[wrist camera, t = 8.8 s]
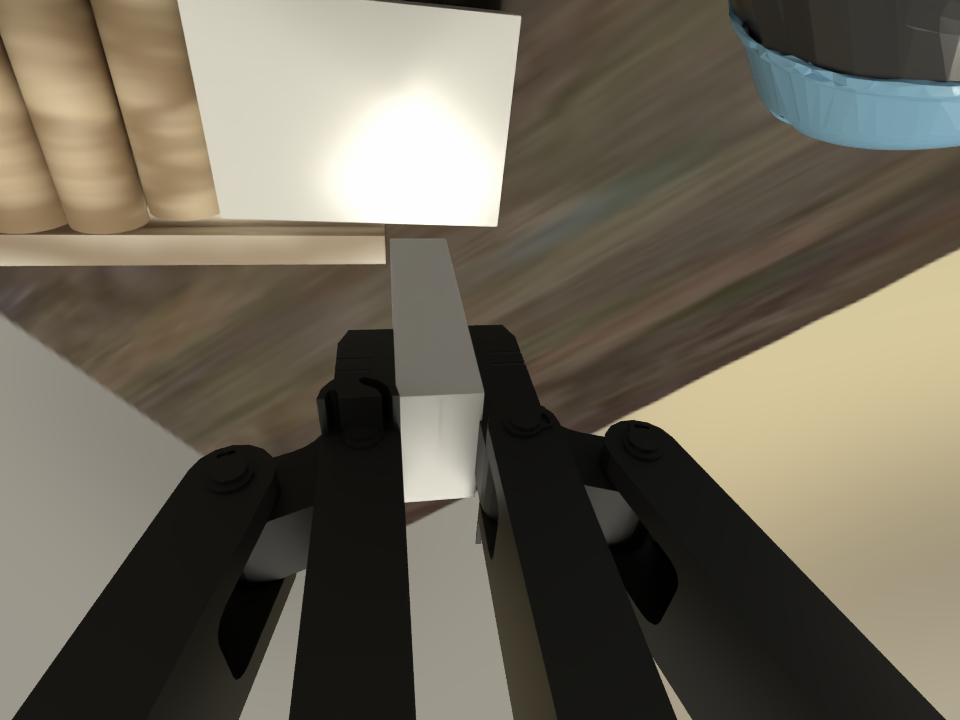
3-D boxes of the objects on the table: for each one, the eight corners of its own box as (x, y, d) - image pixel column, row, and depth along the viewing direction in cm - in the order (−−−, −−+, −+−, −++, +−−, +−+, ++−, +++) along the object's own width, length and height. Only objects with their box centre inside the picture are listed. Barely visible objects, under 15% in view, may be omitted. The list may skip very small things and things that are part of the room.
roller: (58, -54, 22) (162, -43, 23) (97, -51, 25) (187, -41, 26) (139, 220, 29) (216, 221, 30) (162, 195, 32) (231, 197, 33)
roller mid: (60, -27, 23) (99, -27, 26) (-48, -40, 22) (6, -39, 25) (135, 235, 30) (159, 210, 33) (55, 232, 29) (87, 206, 32)
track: (-238, -138, 23) (-541, -191, 15) (372, -77, 27) (370, -96, 20) (-31, 248, 33) (-150, 329, 26) (385, 248, 38) (387, 317, 30)
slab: (197, -21, 27) (173, -20, 23) (505, 11, 29) (521, 16, 26) (236, 194, 33) (221, 218, 30) (486, 203, 36) (497, 226, 33)
